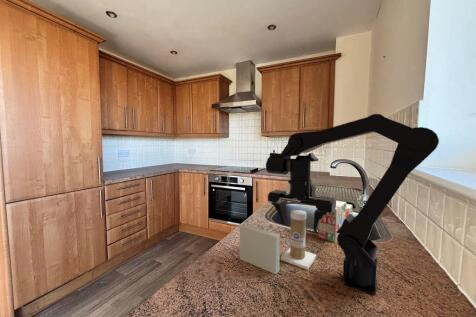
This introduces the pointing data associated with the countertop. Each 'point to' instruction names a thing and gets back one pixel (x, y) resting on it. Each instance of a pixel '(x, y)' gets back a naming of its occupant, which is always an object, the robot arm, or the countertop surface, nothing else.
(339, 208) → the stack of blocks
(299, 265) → the tile pad
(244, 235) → the pale green board
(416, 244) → the countertop surface
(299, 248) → the seasoning jar
